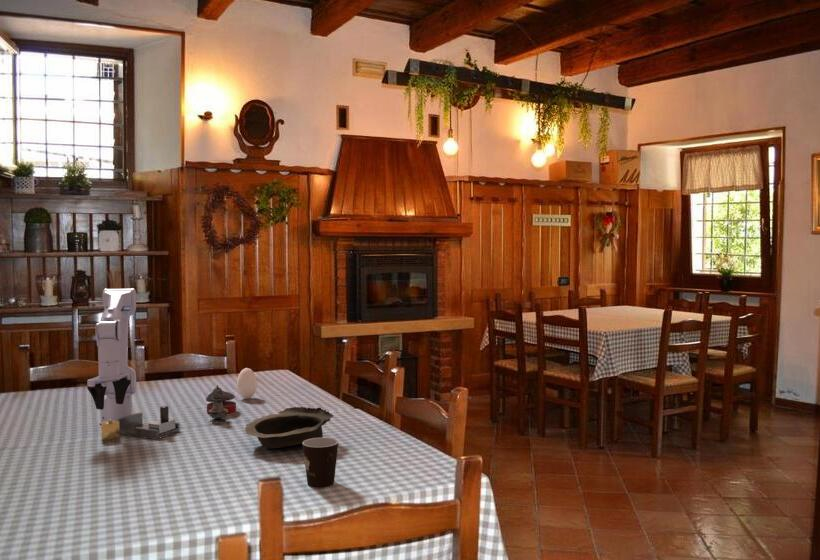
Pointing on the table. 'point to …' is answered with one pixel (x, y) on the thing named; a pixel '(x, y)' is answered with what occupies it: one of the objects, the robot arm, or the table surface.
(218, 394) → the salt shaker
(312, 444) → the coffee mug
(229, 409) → the canned food
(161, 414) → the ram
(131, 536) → the table surface
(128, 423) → the press frame
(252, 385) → the egg
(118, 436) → the gold bell
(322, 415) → the stone bowl
